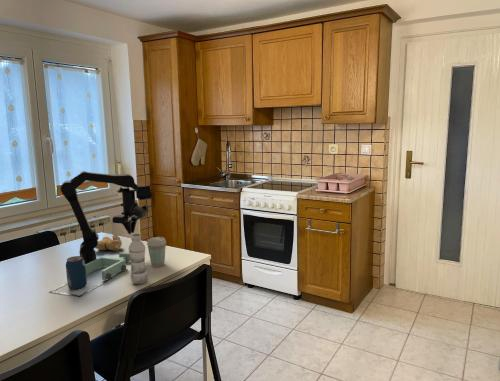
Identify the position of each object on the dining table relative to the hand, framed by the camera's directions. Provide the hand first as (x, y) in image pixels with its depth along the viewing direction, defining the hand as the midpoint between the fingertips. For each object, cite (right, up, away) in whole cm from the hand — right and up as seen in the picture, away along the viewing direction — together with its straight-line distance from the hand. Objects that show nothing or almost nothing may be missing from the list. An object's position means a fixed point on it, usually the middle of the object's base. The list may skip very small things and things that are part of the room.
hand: (131, 233), depth 186 cm
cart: (-5, -14, -13) cm, 20 cm away
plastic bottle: (+12, -17, -28) cm, 35 cm away
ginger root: (-15, -10, +15) cm, 24 cm away
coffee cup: (+15, -14, -8) cm, 22 cm away
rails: (-9, -17, -24) cm, 31 cm away
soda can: (-12, -18, -31) cm, 38 cm away
